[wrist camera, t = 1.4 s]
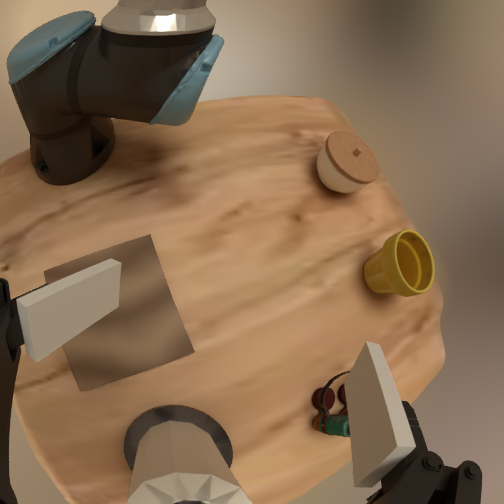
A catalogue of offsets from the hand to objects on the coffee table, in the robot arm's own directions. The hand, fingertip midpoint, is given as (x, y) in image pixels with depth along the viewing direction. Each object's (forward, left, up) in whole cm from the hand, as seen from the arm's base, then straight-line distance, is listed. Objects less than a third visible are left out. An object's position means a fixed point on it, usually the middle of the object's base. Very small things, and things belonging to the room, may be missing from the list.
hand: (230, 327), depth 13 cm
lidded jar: (-16, +34, -22) cm, 44 cm away
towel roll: (+14, -8, -21) cm, 27 cm away
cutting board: (-6, -8, -22) cm, 24 cm away
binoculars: (+18, +15, -23) cm, 32 cm away
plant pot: (+4, +33, -22) cm, 40 cm away
